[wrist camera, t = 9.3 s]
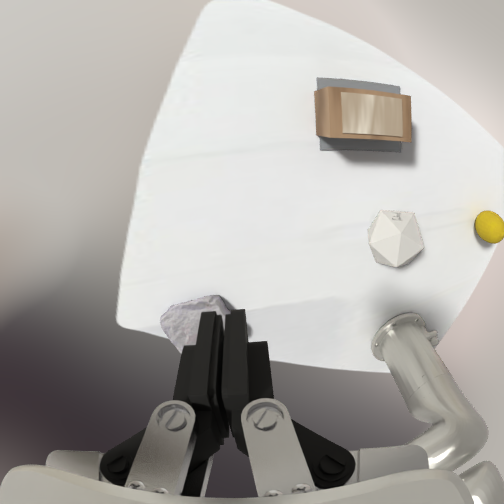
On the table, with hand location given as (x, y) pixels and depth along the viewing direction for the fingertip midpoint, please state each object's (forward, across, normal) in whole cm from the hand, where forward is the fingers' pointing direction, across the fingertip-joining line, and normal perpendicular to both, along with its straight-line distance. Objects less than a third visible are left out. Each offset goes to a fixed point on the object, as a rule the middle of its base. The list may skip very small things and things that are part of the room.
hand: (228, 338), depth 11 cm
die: (+29, -22, +8) cm, 38 cm away
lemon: (+29, -44, +7) cm, 53 cm away
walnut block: (+26, -11, -9) cm, 30 cm away
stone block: (+30, +8, +22) cm, 38 cm away
